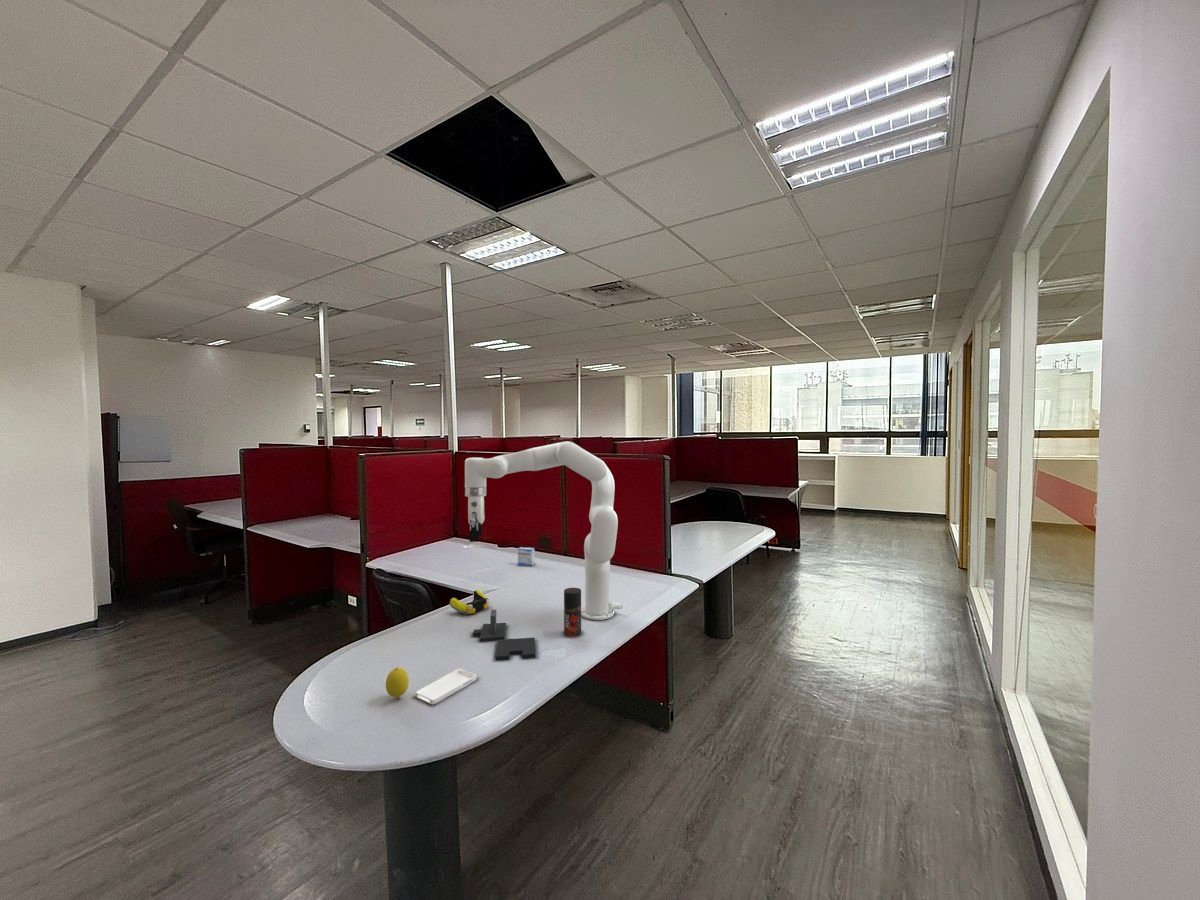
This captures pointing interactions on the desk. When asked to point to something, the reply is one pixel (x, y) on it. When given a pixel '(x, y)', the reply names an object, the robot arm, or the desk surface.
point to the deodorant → (572, 612)
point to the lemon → (397, 682)
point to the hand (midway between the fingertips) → (475, 538)
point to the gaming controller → (471, 604)
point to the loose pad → (487, 632)
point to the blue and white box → (526, 556)
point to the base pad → (515, 648)
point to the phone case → (445, 686)
